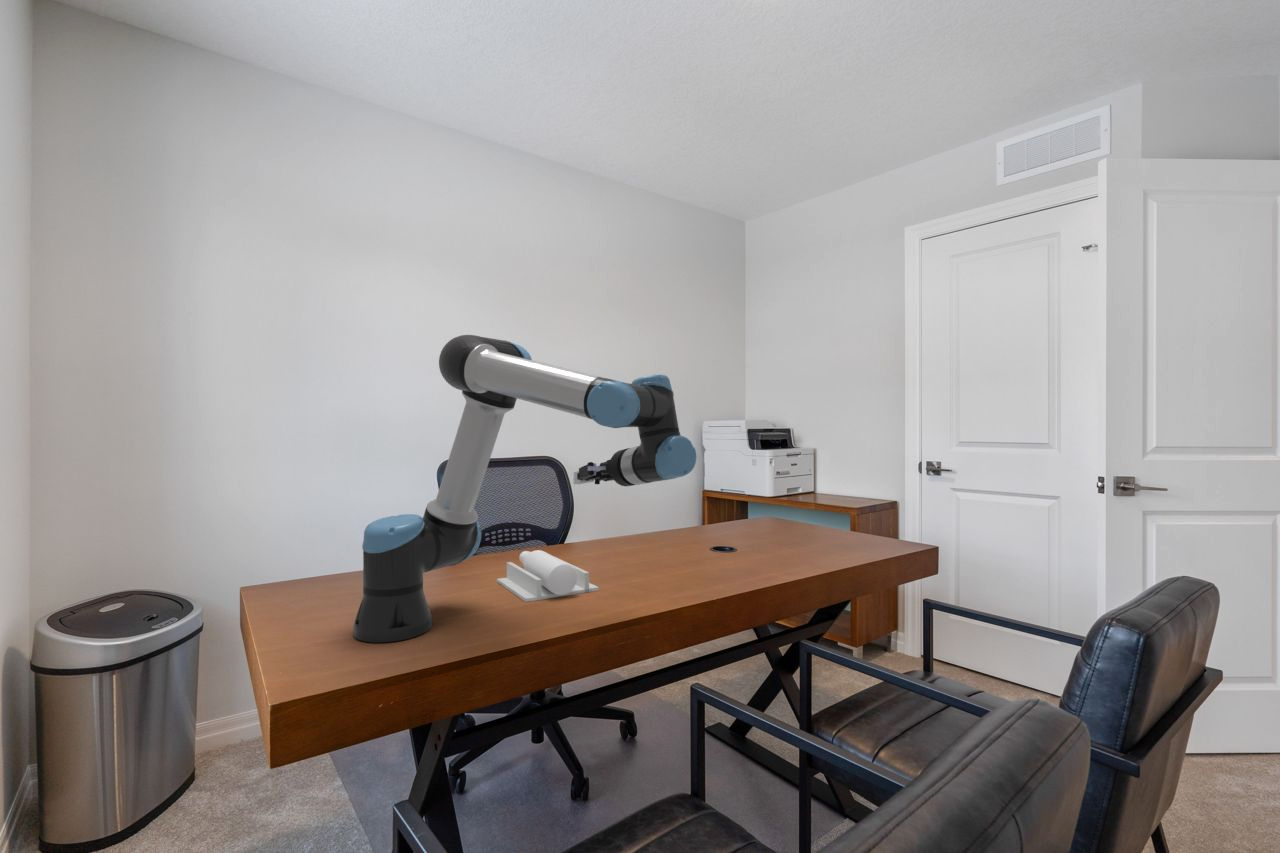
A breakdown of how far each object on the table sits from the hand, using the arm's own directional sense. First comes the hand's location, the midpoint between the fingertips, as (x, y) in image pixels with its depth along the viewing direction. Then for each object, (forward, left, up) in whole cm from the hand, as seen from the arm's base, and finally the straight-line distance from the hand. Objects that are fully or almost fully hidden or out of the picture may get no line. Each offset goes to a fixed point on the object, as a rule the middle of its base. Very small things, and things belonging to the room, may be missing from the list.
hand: (576, 478), depth 137 cm
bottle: (-7, +9, -26) cm, 28 cm away
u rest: (-15, +19, -31) cm, 40 cm away
